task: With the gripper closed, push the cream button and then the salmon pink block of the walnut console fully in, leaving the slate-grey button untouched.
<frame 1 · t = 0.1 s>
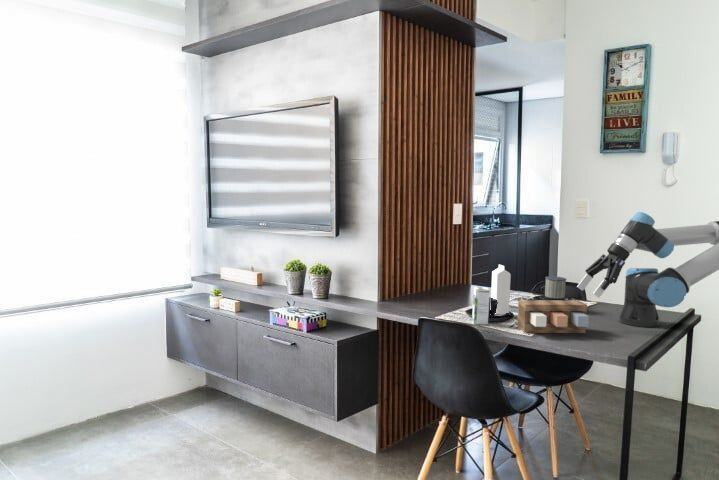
hand: (587, 292, 214), 15 cm above the table, tool tilted 35°, fingers open, 13 cm apart
salmon pink block: (557, 318, 210), point 6 cm above the table, slide at 0.0 cm
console: (550, 330, 216), on the table
milk: (499, 315, 239), on the table
slate button: (577, 318, 210), point 6 cm above the table, slide at 0.0 cm
cream button: (536, 318, 210), point 6 cm above the table, slide at 0.0 cm
syrup box: (480, 323, 226), on the table
milk frother: (544, 309, 254), on the table
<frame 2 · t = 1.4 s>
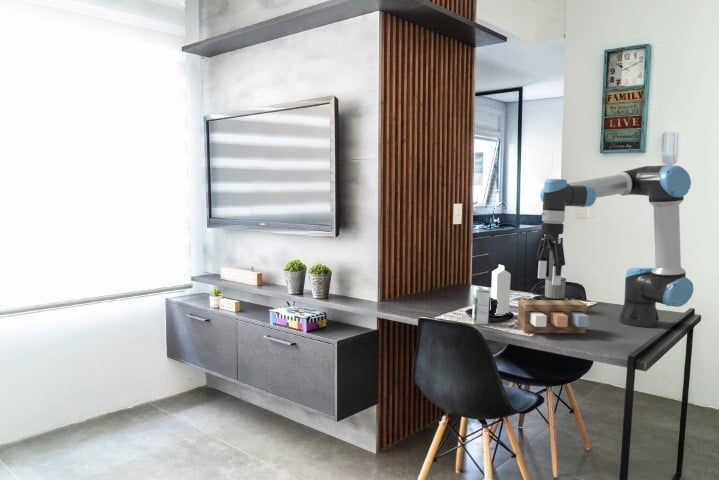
hand: (548, 281, 199), 22 cm above the table, tool pointing down, fingers open, 13 cm apart
nothing on the table moved.
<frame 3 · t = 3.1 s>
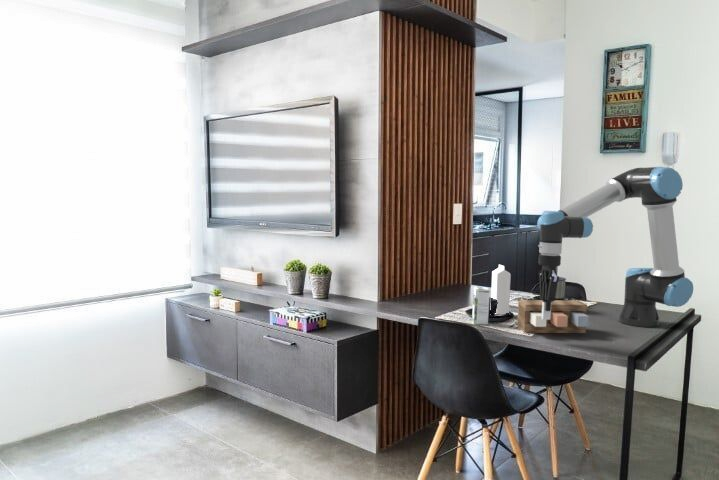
hand: (545, 319, 200), 8 cm above the table, tool pointing down, fingers closed
nothing on the table moved.
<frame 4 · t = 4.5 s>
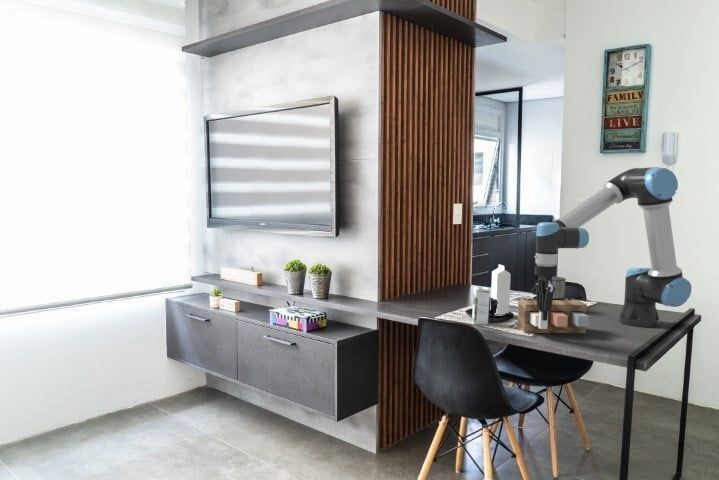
hand: (542, 328, 204), 4 cm above the table, tool pointing down, fingers closed
cream button: (536, 318, 210), point 6 cm above the table, slide at 0.4 cm, touching gripper
everything else where it was.
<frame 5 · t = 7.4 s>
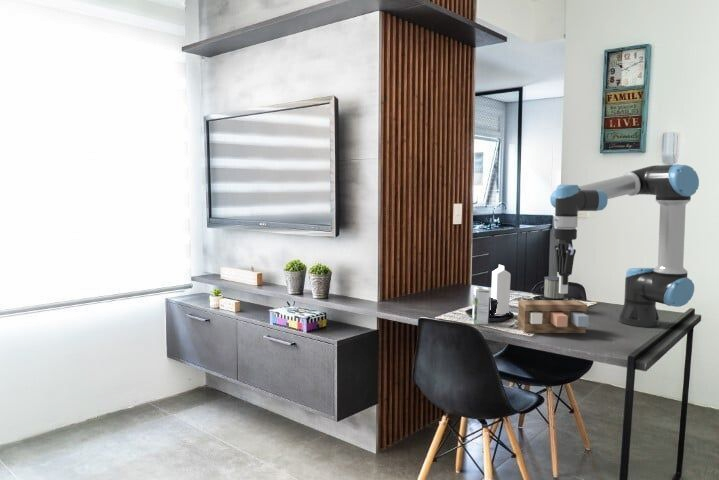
hand: (563, 293, 200), 18 cm above the table, tool pointing down, fingers closed
cream button: (532, 315, 214), point 6 cm above the table, slide at 4.0 cm, touching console
everything else where it was.
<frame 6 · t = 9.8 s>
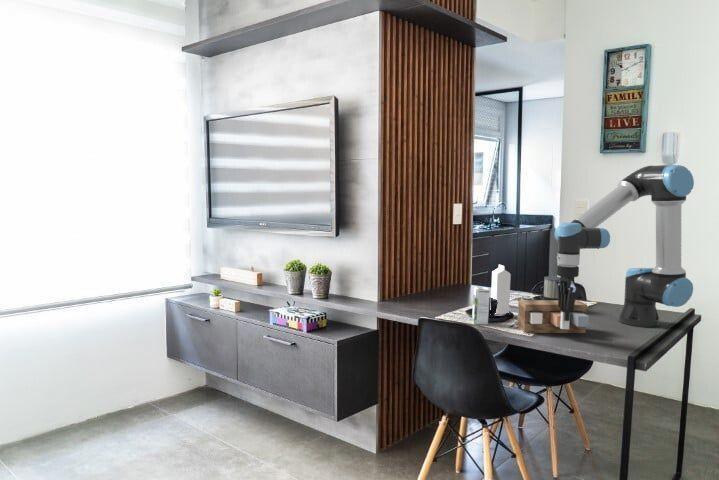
hand: (564, 328, 204), 4 cm above the table, tool pointing down, fingers closed
salmon pink block: (557, 318, 210), point 6 cm above the table, slide at 0.0 cm, touching gripper
everything else where it was.
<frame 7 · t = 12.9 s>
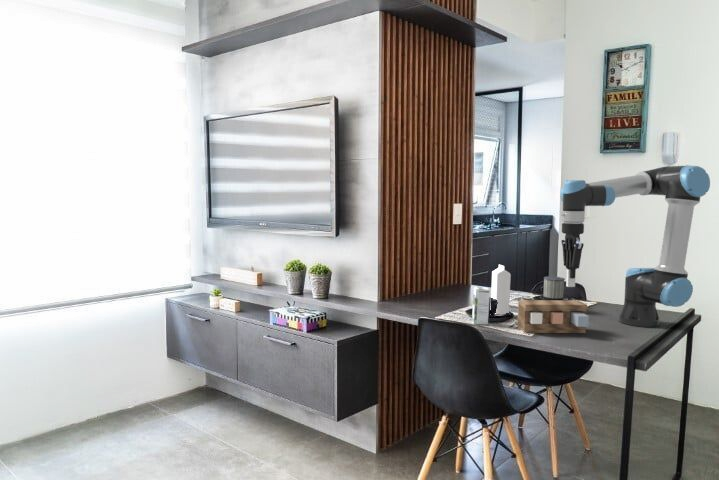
hand: (570, 286, 204), 19 cm above the table, tool pointing down, fingers closed
salmon pink block: (553, 315, 214), point 6 cm above the table, slide at 4.0 cm, touching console
everything else where it was.
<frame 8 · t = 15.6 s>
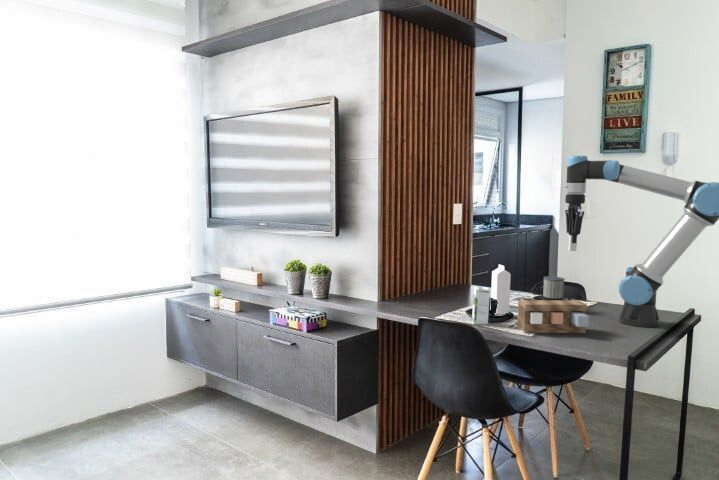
hand: (572, 250, 230), 29 cm above the table, tool pointing down, fingers closed
nothing on the table moved.
at the end: cream button slide at 4.0 cm; salmon pink block slide at 4.0 cm; slate button slide at 0.0 cm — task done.
